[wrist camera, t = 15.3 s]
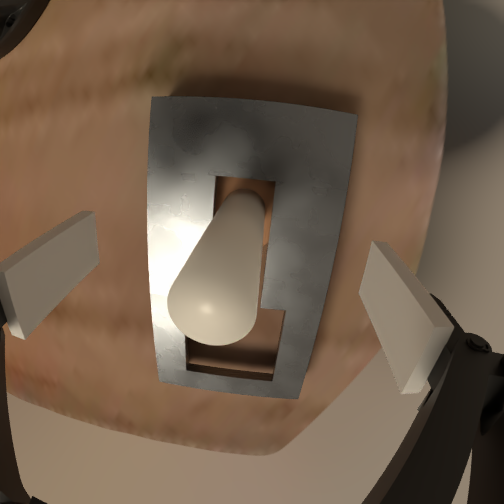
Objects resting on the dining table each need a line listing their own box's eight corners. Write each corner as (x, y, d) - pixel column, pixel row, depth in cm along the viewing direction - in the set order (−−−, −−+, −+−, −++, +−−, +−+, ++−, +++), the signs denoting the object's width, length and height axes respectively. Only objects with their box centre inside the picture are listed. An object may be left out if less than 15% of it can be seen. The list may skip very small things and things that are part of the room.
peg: (208, 161, 22) (120, 212, 9) (291, 170, 22) (319, 233, 9) (203, 238, 24) (135, 360, 11) (280, 247, 24) (287, 382, 11)
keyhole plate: (166, 99, 20) (151, 96, 17) (347, 116, 20) (357, 114, 17) (167, 361, 29) (159, 381, 27) (296, 377, 29) (297, 399, 26)
